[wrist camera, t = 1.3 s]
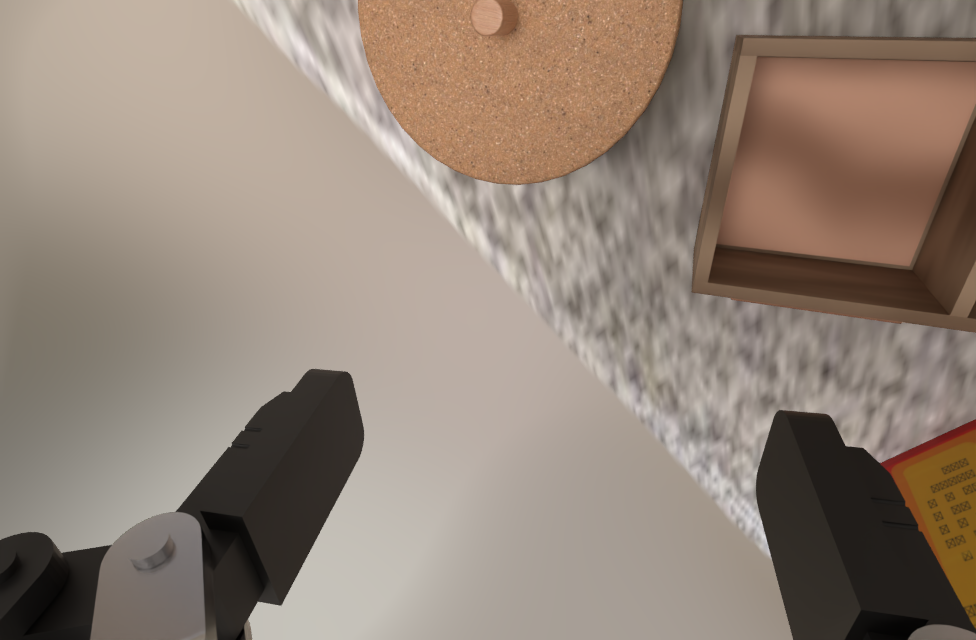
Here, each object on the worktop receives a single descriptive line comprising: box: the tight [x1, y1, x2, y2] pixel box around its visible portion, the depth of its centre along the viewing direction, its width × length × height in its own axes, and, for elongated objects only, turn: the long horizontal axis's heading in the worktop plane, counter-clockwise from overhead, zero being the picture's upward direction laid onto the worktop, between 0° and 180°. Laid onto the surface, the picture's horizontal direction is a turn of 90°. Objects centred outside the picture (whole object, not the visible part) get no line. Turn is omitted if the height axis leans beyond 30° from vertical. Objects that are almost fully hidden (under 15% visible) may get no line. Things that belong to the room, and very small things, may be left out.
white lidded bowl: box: [358, 0, 683, 185], centre depth 23 cm, size 13×13×11 cm
